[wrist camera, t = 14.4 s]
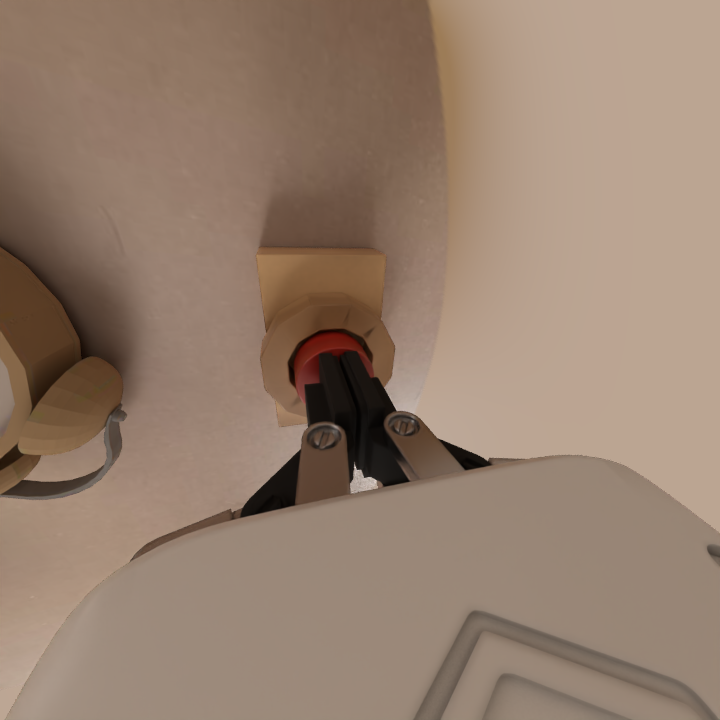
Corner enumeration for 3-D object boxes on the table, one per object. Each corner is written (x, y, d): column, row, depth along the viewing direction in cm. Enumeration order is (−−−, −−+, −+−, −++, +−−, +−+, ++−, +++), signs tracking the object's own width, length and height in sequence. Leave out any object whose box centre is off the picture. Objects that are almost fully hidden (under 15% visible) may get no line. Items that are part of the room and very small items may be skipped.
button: (363, 388, 15) (372, 409, 14) (296, 396, 14) (298, 418, 13) (366, 328, 13) (377, 344, 12) (291, 333, 13) (292, 350, 11)
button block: (367, 394, 20) (385, 433, 17) (274, 405, 19) (274, 450, 15) (378, 248, 15) (406, 262, 12) (253, 246, 14) (244, 262, 10)
